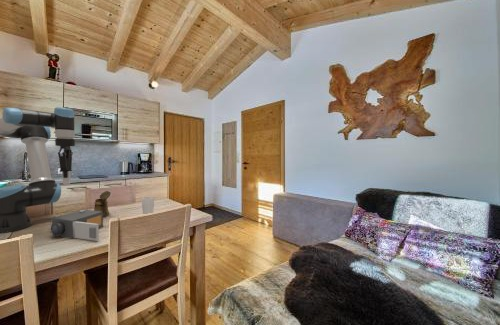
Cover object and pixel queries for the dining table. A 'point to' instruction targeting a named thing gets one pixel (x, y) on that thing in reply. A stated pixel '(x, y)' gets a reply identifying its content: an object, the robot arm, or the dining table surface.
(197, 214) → the dining table surface
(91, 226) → the side door
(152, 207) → the drinking glass
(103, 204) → the brown irregular piece
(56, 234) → the camera housing
